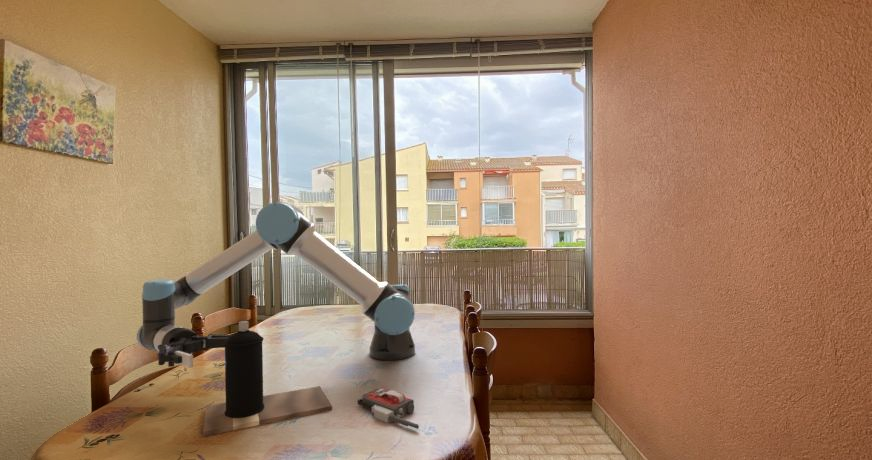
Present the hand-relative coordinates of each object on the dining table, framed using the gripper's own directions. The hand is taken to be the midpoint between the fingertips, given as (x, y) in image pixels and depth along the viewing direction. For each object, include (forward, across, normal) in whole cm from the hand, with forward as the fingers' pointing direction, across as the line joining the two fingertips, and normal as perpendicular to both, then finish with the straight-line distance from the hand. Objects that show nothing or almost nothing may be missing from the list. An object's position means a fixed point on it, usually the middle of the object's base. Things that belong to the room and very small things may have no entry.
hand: (220, 353), depth 100 cm
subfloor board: (+12, -4, -12) cm, 18 cm away
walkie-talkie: (+38, -18, -13) cm, 44 cm away
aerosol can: (+10, 0, -12) cm, 15 cm away
